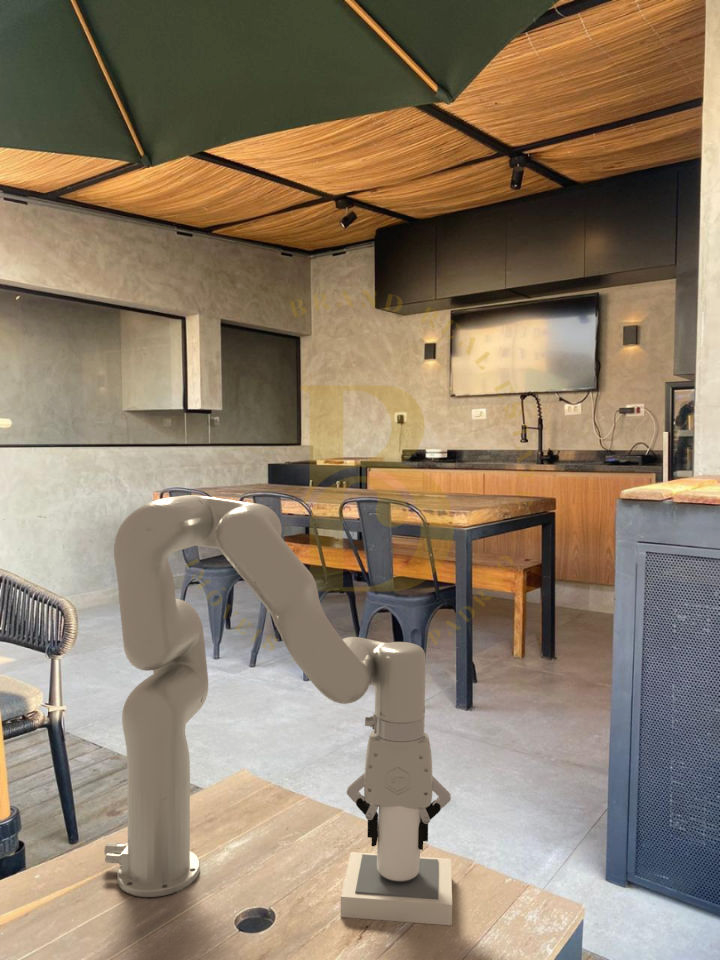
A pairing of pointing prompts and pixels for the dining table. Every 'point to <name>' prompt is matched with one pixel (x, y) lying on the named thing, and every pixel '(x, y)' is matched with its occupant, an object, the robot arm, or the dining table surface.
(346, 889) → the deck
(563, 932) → the dining table surface
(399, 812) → the can
